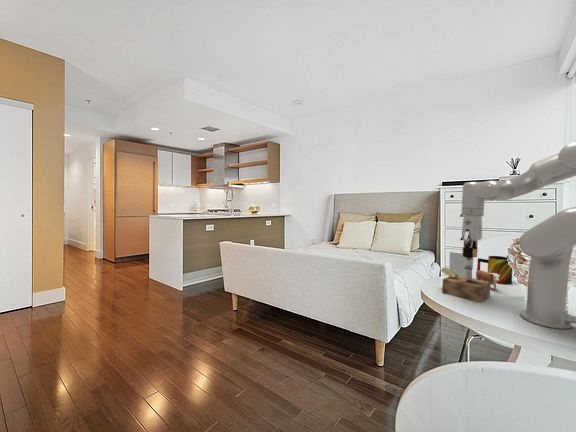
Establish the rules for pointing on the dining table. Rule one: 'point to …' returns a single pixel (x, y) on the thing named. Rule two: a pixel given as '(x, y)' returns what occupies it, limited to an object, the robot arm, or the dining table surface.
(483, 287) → the block
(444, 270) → the plate
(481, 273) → the bull figurine
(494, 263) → the mug
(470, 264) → the orange-brown domed cylinder
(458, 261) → the skincare box
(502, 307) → the dining table surface
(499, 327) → the dining table surface
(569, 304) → the dining table surface
